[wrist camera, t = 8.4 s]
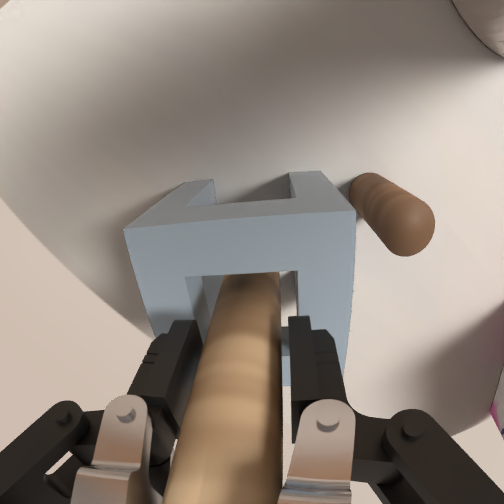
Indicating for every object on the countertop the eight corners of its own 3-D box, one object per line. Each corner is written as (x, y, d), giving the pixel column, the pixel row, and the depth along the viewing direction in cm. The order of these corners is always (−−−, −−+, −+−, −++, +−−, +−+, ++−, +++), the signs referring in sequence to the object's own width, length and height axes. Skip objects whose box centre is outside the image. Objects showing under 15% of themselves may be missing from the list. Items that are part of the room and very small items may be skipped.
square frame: (183, 182, 17) (122, 229, 10) (320, 170, 16) (356, 210, 9) (205, 297, 20) (173, 384, 13) (322, 291, 20) (342, 381, 12)
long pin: (221, 252, 14) (133, 527, 3) (277, 248, 14) (278, 546, 3) (229, 298, 15) (176, 547, 4) (280, 295, 15) (281, 557, 4)
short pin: (348, 173, 16) (383, 199, 11) (389, 172, 16) (437, 198, 11) (349, 215, 17) (380, 258, 12) (388, 213, 17) (431, 254, 12)
